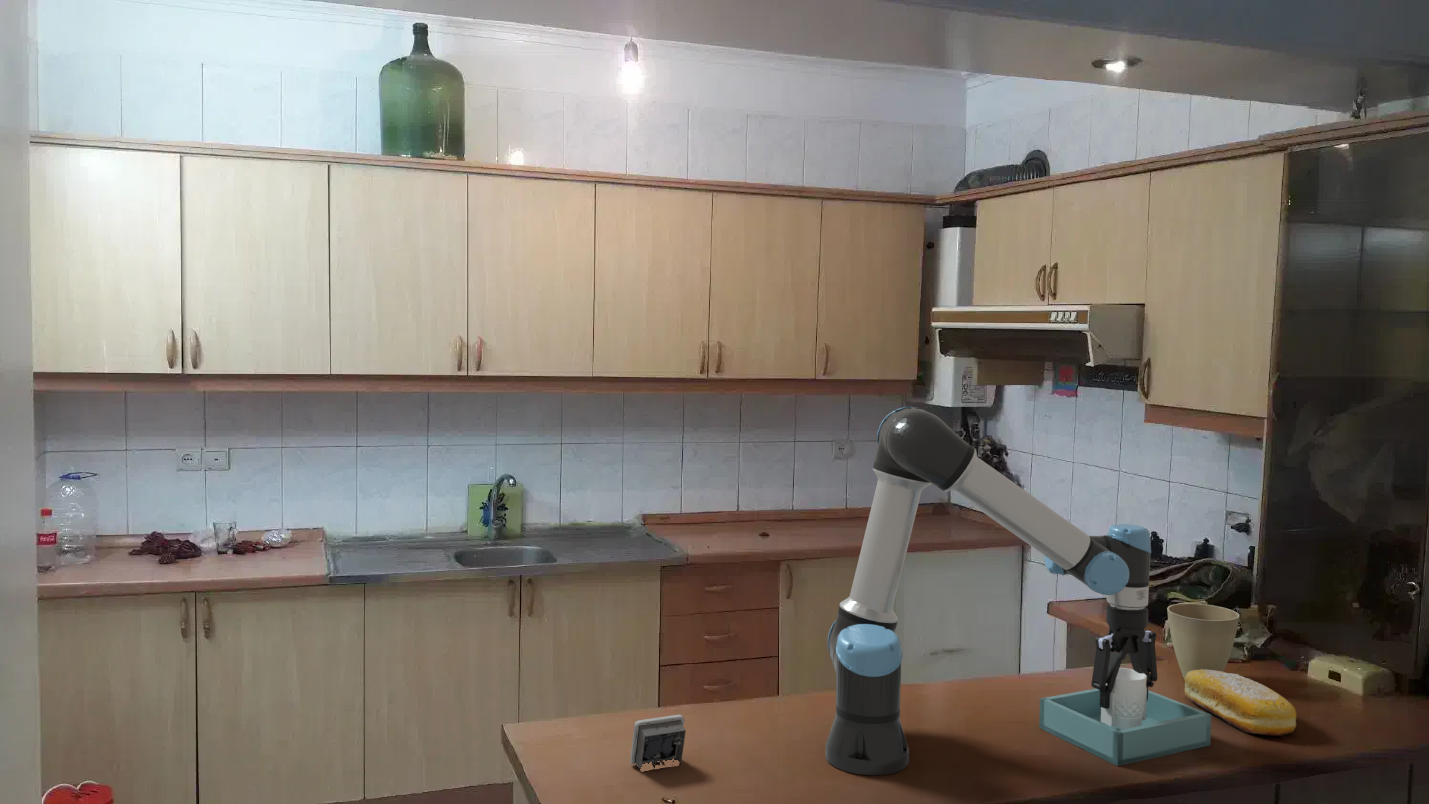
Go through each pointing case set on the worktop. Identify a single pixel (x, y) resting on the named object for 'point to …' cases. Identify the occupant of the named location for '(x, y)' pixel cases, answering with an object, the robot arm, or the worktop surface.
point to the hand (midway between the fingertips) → (1123, 720)
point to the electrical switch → (658, 740)
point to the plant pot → (1202, 635)
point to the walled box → (1158, 735)
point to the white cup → (1129, 698)
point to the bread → (1241, 702)
